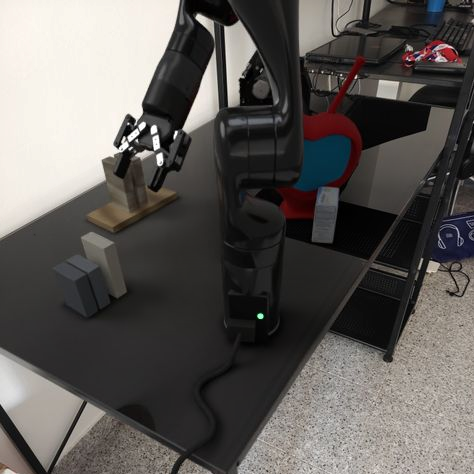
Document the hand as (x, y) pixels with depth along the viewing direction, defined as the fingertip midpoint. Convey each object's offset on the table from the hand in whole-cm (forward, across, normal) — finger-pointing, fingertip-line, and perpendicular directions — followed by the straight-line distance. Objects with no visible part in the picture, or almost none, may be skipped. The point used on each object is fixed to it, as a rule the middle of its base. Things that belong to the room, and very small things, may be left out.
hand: (134, 183), depth 74 cm
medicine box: (-10, +22, +33) cm, 41 cm away
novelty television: (-14, +12, +38) cm, 43 cm away
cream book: (+19, 0, +5) cm, 19 cm away
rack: (+2, -19, +21) cm, 29 cm away
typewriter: (-31, -6, +55) cm, 63 cm away
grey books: (+23, 0, +1) cm, 23 cm away
